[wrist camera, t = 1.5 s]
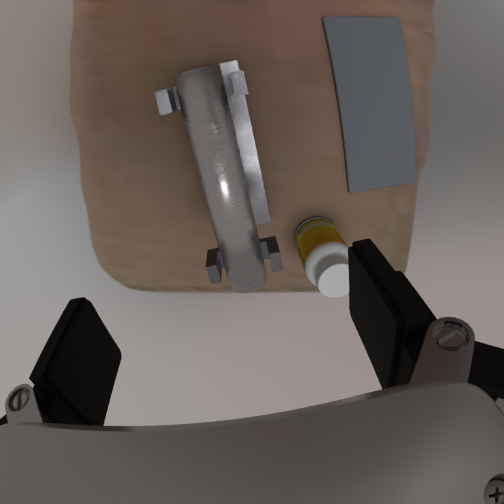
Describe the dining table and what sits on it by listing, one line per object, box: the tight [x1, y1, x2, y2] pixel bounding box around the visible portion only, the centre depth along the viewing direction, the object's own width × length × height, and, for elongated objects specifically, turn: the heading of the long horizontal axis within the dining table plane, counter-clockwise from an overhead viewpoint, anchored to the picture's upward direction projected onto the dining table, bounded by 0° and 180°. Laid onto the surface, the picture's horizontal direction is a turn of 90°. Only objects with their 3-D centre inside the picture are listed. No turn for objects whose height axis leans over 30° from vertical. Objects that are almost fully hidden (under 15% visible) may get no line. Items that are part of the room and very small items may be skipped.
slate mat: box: [322, 17, 416, 193], centre depth 30 cm, size 20×9×1 cm, turn 11°
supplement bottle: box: [295, 217, 349, 298], centre depth 34 cm, size 5×5×10 cm
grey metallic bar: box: [173, 64, 267, 293], centre depth 21 cm, size 16×3×3 cm, turn 11°
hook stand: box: [154, 60, 283, 284], centre depth 26 cm, size 18×6×13 cm, turn 11°
